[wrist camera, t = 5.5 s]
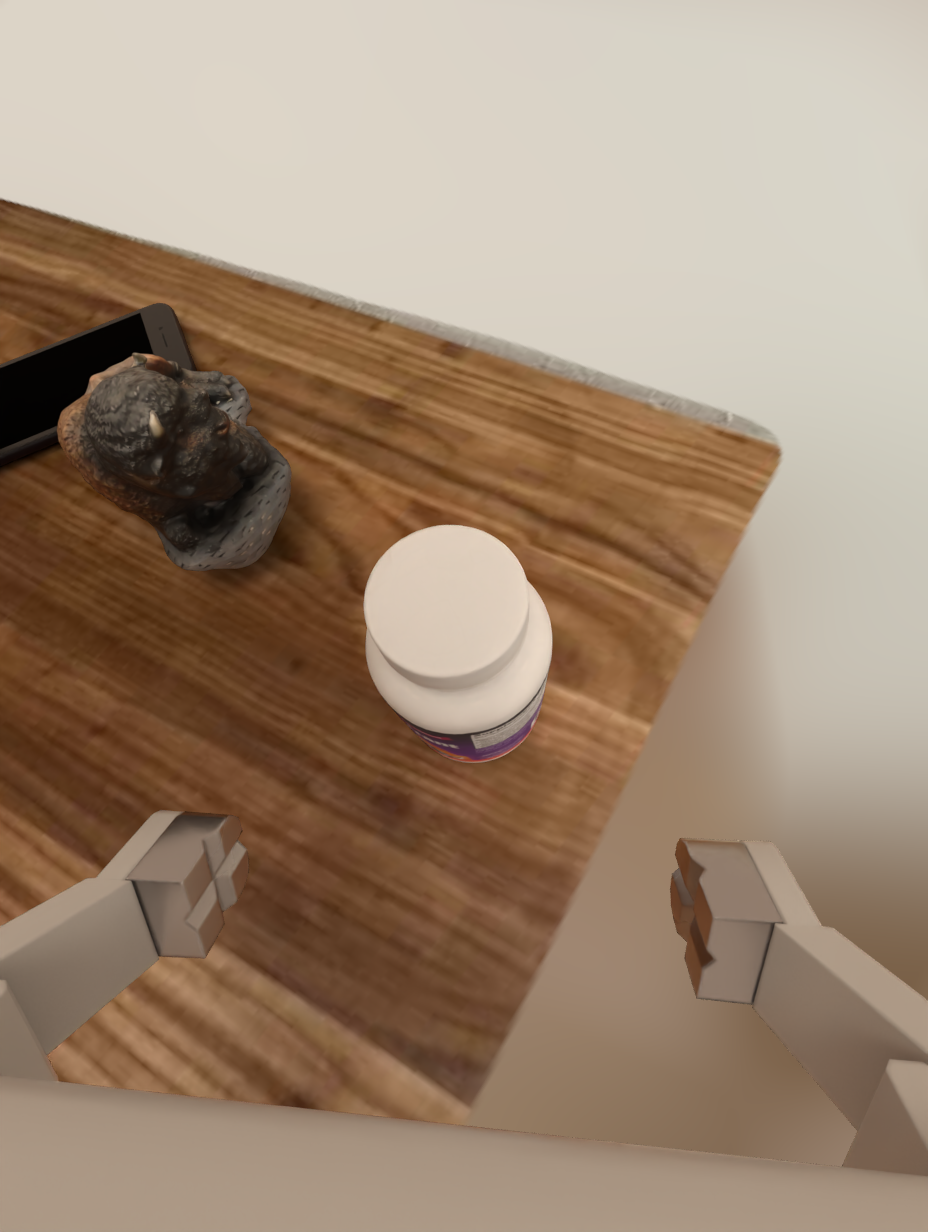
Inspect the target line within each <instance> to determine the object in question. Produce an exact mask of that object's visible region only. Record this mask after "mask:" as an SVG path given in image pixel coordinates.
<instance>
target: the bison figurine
mask: <svg viewBox="0 0 928 1232" xmlns="http://www.w3.org/2000/svg"><path fill="white" fill-rule="evenodd" d="M251 409H252V408H251V405H250V400H249V396H248V393H247V391H246V389H245V388H244V387H243V386H242V385H241V384H240V383H239V381H238V380H237V379H236V378H235V377H234V376H229V375H226V376H224V375H223V374H222V373H221V372H219V371H211V372H201V371H190V370H187V369H184V368H181V367H180V365H179V364H178V363H177V362H174V361H166V360H165V359H164V358H162V357H160V356H155V355H151V354H140V353H132V356H131V357H129V358H127V359H126V360H124V361H123V362H120V363H118V364H116V365H113V366H111V367H109V368H108V369H107V370H105V371H104V372H101V373H98V374H95V375H93V376H91V378H90V380H89V384H88V388H87V391H86V393H85V395H84V396H82V397H81V398H79V399H78V400H76V401H75V402H73V403H72V404H71V405H70V406H68V407H67V408H65V409H64V410H63V411H62V412H61V415H60V419H59V422H58V426H57V433H58V439H59V443H60V445H61V446H62V448H63V450H64V452H65V454H66V456H67V458H68V459H69V460H70V461H71V463H72V464H73V465H74V466H75V468H76V469H77V470H78V471H79V472H80V473H81V475H82V476H83V478H84V480H85V481H86V482H87V483H89V484H90V485H91V486H92V487H93V488H94V489H95V490H96V491H97V492H98V493H100V494H102V495H103V496H105V497H106V498H107V499H109V500H110V501H112V502H114V503H115V504H116V505H117V506H118V507H119V508H121V509H122V510H124V511H127V512H130V513H133V514H136V515H138V516H139V517H141V518H142V519H144V520H146V521H148V522H149V523H150V524H151V525H152V526H153V527H154V528H155V529H156V531H157V533H158V535H159V537H160V539H161V540H162V543H163V545H164V549H165V552H166V554H167V556H168V557H169V558H170V559H171V561H172V562H173V563H174V564H176V565H178V566H179V567H181V568H183V569H186V570H192V571H206V570H210V569H238V568H242V567H247V566H249V565H251V564H252V563H254V562H256V561H257V560H258V559H259V558H260V557H261V556H262V555H263V554H264V553H265V552H266V550H267V549H268V547H269V546H270V544H271V542H272V539H273V537H274V535H275V532H276V530H277V528H278V525H279V523H280V522H281V520H282V518H283V515H284V513H285V511H286V508H287V505H288V501H289V497H290V490H291V484H290V482H291V469H290V465H289V463H288V462H287V460H286V459H285V458H284V457H283V456H282V455H281V454H280V452H279V451H278V450H277V449H276V448H274V447H273V446H271V445H270V444H269V442H268V441H267V440H266V439H265V438H264V437H262V436H261V434H260V433H259V431H258V430H257V429H256V428H255V427H253V426H246V421H247V416H248V414H249V413H250V411H251Z"/></svg>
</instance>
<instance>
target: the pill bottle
mask: <svg viewBox="0 0 928 1232" xmlns="http://www.w3.org/2000/svg"><path fill="white" fill-rule="evenodd" d="M364 615H365V621H366V625H367V633H366V659H367V664H368V668H369V671H370V674H371V677H372V679H373V681H374V684H375V685H376V688H377V690H378V692H379V693H380V694H381V696H382V697H383V699H384V700H385V701H386V702H387V704H388V705H389V706H390V707H391V708H392V709H393V710H394V711H395V712H396V713H397V715H398V716H399V717H400V718H401V719H402V720H403V721H404V722H405V723H406V724H407V725H408V726H409V727H410V728H411V729H412V730H413V731H414V732H415V733H416V734H417V735H418V737H419V738H420V739H421V740H422V741H423V742H424V743H425V744H427V745H428V746H429V747H430V748H431V749H433V750H434V751H436V752H437V753H439V754H441V755H442V756H445V757H447V758H450V759H452V760H456V761H460V762H467V763H479V762H486V761H490V760H494V759H497V758H499V757H502V756H504V755H506V754H508V753H509V752H511V751H512V750H514V749H515V748H516V747H517V746H519V745H520V744H521V743H522V742H523V741H524V740H525V738H526V737H527V736H528V735H529V733H530V732H531V730H532V728H533V727H534V725H535V723H536V720H537V718H538V715H539V712H540V709H541V704H542V700H543V696H544V691H545V686H546V681H547V676H548V672H549V668H550V662H551V656H552V629H551V623H550V619H549V616H548V613H547V610H546V607H545V605H544V603H543V601H542V599H541V597H540V596H539V594H538V593H537V591H536V590H535V589H534V588H533V586H532V585H531V584H530V583H529V582H528V581H527V579H526V576H525V573H524V571H523V568H522V566H521V564H520V563H519V561H518V560H517V558H516V557H515V555H514V554H513V553H512V552H511V551H510V549H509V548H508V547H507V546H506V545H504V544H503V543H502V542H501V541H499V540H498V539H497V538H495V537H493V536H492V535H490V534H488V533H486V532H484V531H481V530H478V529H475V528H471V527H466V526H461V525H440V526H434V527H429V528H425V529H422V530H419V531H416V532H414V533H412V534H410V535H408V536H406V537H405V538H402V539H401V540H399V541H398V542H397V543H395V544H394V545H393V546H392V547H390V548H389V549H388V550H387V551H386V552H385V554H384V555H383V556H382V557H381V558H380V559H379V561H378V562H377V564H376V565H375V567H374V568H373V570H372V572H371V574H370V577H369V579H368V582H367V586H366V590H365V595H364Z"/></svg>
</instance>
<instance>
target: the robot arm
mask: <svg viewBox="0 0 928 1232" xmlns="http://www.w3.org/2000/svg"><path fill="white" fill-rule="evenodd" d="M241 833H242V827H241V824H240V820H239V817H236V816H233V815H224V814H211V813H199V812H186V811H185V812H178V811H167V810H160V811H158V812H156V813H154V814H152V815H151V816H150V817H149V818H148V819H147V821H146V822H145V823H144V824H143V825H142V826H141V827H140V829H139V830H138V831H137V832H136V833H135V834H134V835H133V836H132V838H131V839H130V840H129V841H128V842H127V843H126V844H125V845H124V847H123V848H122V849H121V850H120V851H119V852H118V853H117V854H116V856H115V857H114V858H113V859H112V860H111V861H110V862H109V863H108V865H107V866H106V867H105V868H104V869H103V870H102V871H101V872H100V874H99V875H98V876H97V877H96V878H86V879H84V880H83V881H81V882H79V883H77V884H75V885H74V886H72V887H70V888H68V889H67V890H65V891H63V892H61V893H59V894H58V895H56V896H54V897H52V898H50V899H49V900H47V901H45V902H43V903H41V904H40V905H38V906H36V907H34V908H32V909H31V910H29V911H27V912H25V913H24V914H22V915H20V916H18V917H16V918H15V919H13V920H11V921H9V922H7V923H6V924H4V925H2V926H0V1232H928V1000H926V999H925V998H924V997H923V996H921V995H920V994H919V993H917V992H916V991H914V990H913V989H912V988H911V987H909V986H908V985H907V984H906V983H904V982H903V981H902V980H900V979H899V978H898V977H896V976H895V975H894V974H893V973H891V972H890V971H888V970H887V969H886V968H885V967H883V966H882V965H881V964H879V963H878V962H877V961H876V960H874V959H873V958H872V957H870V956H869V955H868V954H866V953H865V952H864V951H862V950H861V949H860V948H859V947H857V946H856V945H855V944H853V943H852V942H851V941H850V940H848V939H847V938H845V937H844V936H843V935H841V934H840V933H839V932H838V931H836V930H835V929H834V928H832V927H824V926H822V925H821V923H820V922H819V920H818V918H817V917H816V915H815V913H814V911H813V909H812V908H811V906H810V904H809V902H808V901H807V899H806V897H805V895H804V894H803V892H802V890H801V889H800V887H799V885H798V883H797V881H796V880H795V878H794V876H793V874H792V873H791V871H790V869H789V867H788V866H787V864H786V862H785V861H784V859H783V857H782V855H781V854H780V852H779V850H778V848H777V847H776V846H775V845H774V844H773V843H772V842H767V841H742V840H741V841H737V840H714V839H692V838H680V839H679V841H678V843H677V847H676V853H675V856H676V859H677V862H678V865H679V868H678V869H677V870H676V871H675V872H674V873H673V874H672V878H671V888H670V893H671V908H672V913H673V919H674V923H675V925H676V930H677V933H678V934H679V935H680V936H681V937H682V938H683V939H684V940H685V941H686V942H687V947H686V952H685V961H686V964H687V968H688V971H689V974H690V978H691V981H692V985H693V988H694V991H695V995H696V998H697V999H706V1000H715V1001H724V1002H732V1003H742V1004H751V1005H753V1007H752V1008H753V1009H754V1010H755V1011H756V1012H757V1014H758V1015H759V1016H760V1017H761V1018H762V1020H763V1021H764V1022H765V1023H766V1024H767V1025H768V1027H769V1028H770V1029H771V1030H772V1031H773V1033H774V1034H775V1035H776V1036H777V1037H778V1038H779V1039H780V1041H781V1042H782V1043H783V1044H784V1045H785V1047H786V1048H787V1049H788V1050H789V1051H790V1052H791V1054H792V1055H793V1056H794V1057H795V1058H796V1059H797V1061H798V1062H799V1063H800V1064H801V1065H802V1067H803V1068H804V1069H805V1070H806V1071H807V1072H808V1074H809V1075H810V1076H811V1077H812V1078H813V1079H814V1081H815V1082H816V1083H817V1084H818V1085H819V1086H820V1088H821V1089H822V1090H823V1091H824V1092H825V1094H826V1095H827V1096H828V1097H829V1098H830V1099H831V1101H832V1102H833V1103H834V1104H835V1105H836V1106H837V1107H838V1109H839V1110H840V1111H841V1112H842V1113H843V1115H844V1116H845V1117H846V1118H847V1119H848V1120H849V1121H850V1123H851V1124H852V1125H853V1126H854V1128H855V1129H856V1130H857V1133H856V1136H855V1138H854V1141H853V1143H852V1145H851V1147H850V1149H849V1151H848V1154H847V1156H846V1158H845V1160H844V1163H843V1165H842V1167H839V1166H828V1165H820V1164H811V1163H802V1162H793V1161H783V1160H774V1159H765V1158H756V1157H755V1158H754V1157H746V1156H738V1155H728V1154H719V1153H710V1152H701V1151H692V1150H682V1149H673V1148H664V1147H655V1146H646V1145H636V1144H627V1143H618V1142H609V1141H600V1140H591V1139H581V1138H573V1137H563V1136H554V1135H544V1134H536V1133H526V1132H517V1131H508V1130H499V1129H490V1128H482V1127H472V1126H463V1125H454V1124H445V1123H436V1122H427V1121H418V1120H408V1119H399V1118H390V1117H381V1116H371V1115H362V1114H353V1113H343V1112H334V1111H325V1110H316V1109H306V1108H297V1107H288V1106H279V1105H269V1104H260V1103H251V1102H242V1101H233V1100H223V1099H214V1098H205V1097H196V1096H187V1095H178V1094H168V1093H159V1092H150V1091H141V1090H132V1089H122V1088H113V1087H104V1086H95V1085H86V1084H77V1083H67V1082H58V1076H57V1075H56V1073H55V1071H54V1069H53V1067H52V1065H51V1063H50V1061H49V1060H48V1058H47V1055H48V1054H49V1053H50V1052H51V1051H52V1050H54V1049H55V1048H56V1047H57V1046H58V1045H59V1044H61V1043H62V1042H63V1041H64V1040H65V1039H66V1038H68V1037H69V1036H70V1035H71V1034H72V1033H73V1032H75V1031H76V1030H77V1029H78V1028H79V1027H80V1026H82V1025H83V1024H84V1023H85V1022H86V1021H87V1020H89V1019H90V1018H91V1017H92V1016H93V1015H94V1014H96V1013H97V1012H98V1011H99V1010H100V1009H101V1008H103V1007H104V1006H105V1005H106V1004H107V1003H109V1002H110V1001H111V1000H112V999H113V998H114V997H116V996H117V995H118V994H119V993H120V992H121V991H123V990H124V989H125V988H126V987H127V986H128V985H130V984H131V983H132V982H133V981H134V980H135V979H137V978H138V977H139V976H140V975H141V974H142V973H144V972H145V971H146V970H147V969H148V968H149V967H151V966H152V965H153V964H154V963H155V962H156V961H158V960H159V957H158V956H162V957H182V958H203V959H205V958H206V956H207V954H208V953H209V951H210V949H211V947H212V946H213V944H214V942H215V940H216V939H217V937H218V935H219V933H220V931H221V930H222V928H223V926H224V924H225V923H224V916H223V912H224V911H225V910H227V909H228V908H230V907H231V906H232V905H234V904H235V903H236V902H237V901H238V899H239V897H240V896H241V894H242V892H243V890H244V888H245V884H246V881H247V877H248V873H249V856H248V852H247V849H246V848H245V847H244V846H243V845H242V844H241V843H240V842H239V841H238V840H237V839H238V838H239V836H240V834H241Z"/></svg>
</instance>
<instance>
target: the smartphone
mask: <svg viewBox="0 0 928 1232" xmlns="http://www.w3.org/2000/svg"><path fill="white" fill-rule="evenodd" d="M132 353H140V354H151V355H155V356H160V357H162V358H164V359H165V360H166V361H174V362H177V363H178V364H179V365H180V367H181V368H184V369H187V370H190V371H196V368H195V364H194V362H193V359H192V356H191V354H190V351H189V348H188V345H187V343H186V340H185V337H184V335H183V332H182V329H181V327H180V324H179V321H178V319H177V316H176V314H175V312H174V310H173V309H172V308H171V307H170V306H169V305H166V304H163V303H157V304H153V305H150V306H147V307H144V308H142V309H139V310H137V311H134V312H132V313H129V314H127V315H124V316H122V317H119V318H117V319H114V320H112V321H109V322H107V323H104V324H102V325H99V326H97V327H94V328H91V329H89V330H86V331H84V332H81V333H79V334H76V335H74V336H71V337H69V338H66V339H64V340H61V341H59V342H56V343H54V344H51V345H49V346H46V347H44V348H41V349H38V350H36V351H33V352H31V353H28V354H26V355H23V356H21V357H18V358H16V359H13V360H11V361H8V362H6V363H3V364H1V365H0V466H2V465H4V464H7V463H9V462H12V461H14V460H16V459H19V458H21V457H24V456H26V455H28V454H31V453H33V452H36V451H38V450H41V449H43V448H45V447H48V446H50V445H53V444H55V443H57V442H59V439H58V433H57V426H58V422H59V419H60V415H61V412H62V411H63V410H64V409H65V408H67V407H68V406H70V405H71V404H72V403H73V402H75V401H76V400H78V399H79V398H81V397H82V396H84V395H85V393H86V391H87V388H88V384H89V380H90V378H91V376H93V375H95V374H98V373H101V372H104V371H105V370H107V369H108V368H109V367H111V366H113V365H116V364H118V363H120V362H123V361H124V360H126V359H127V358H129V357H131V356H132Z"/></svg>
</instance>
